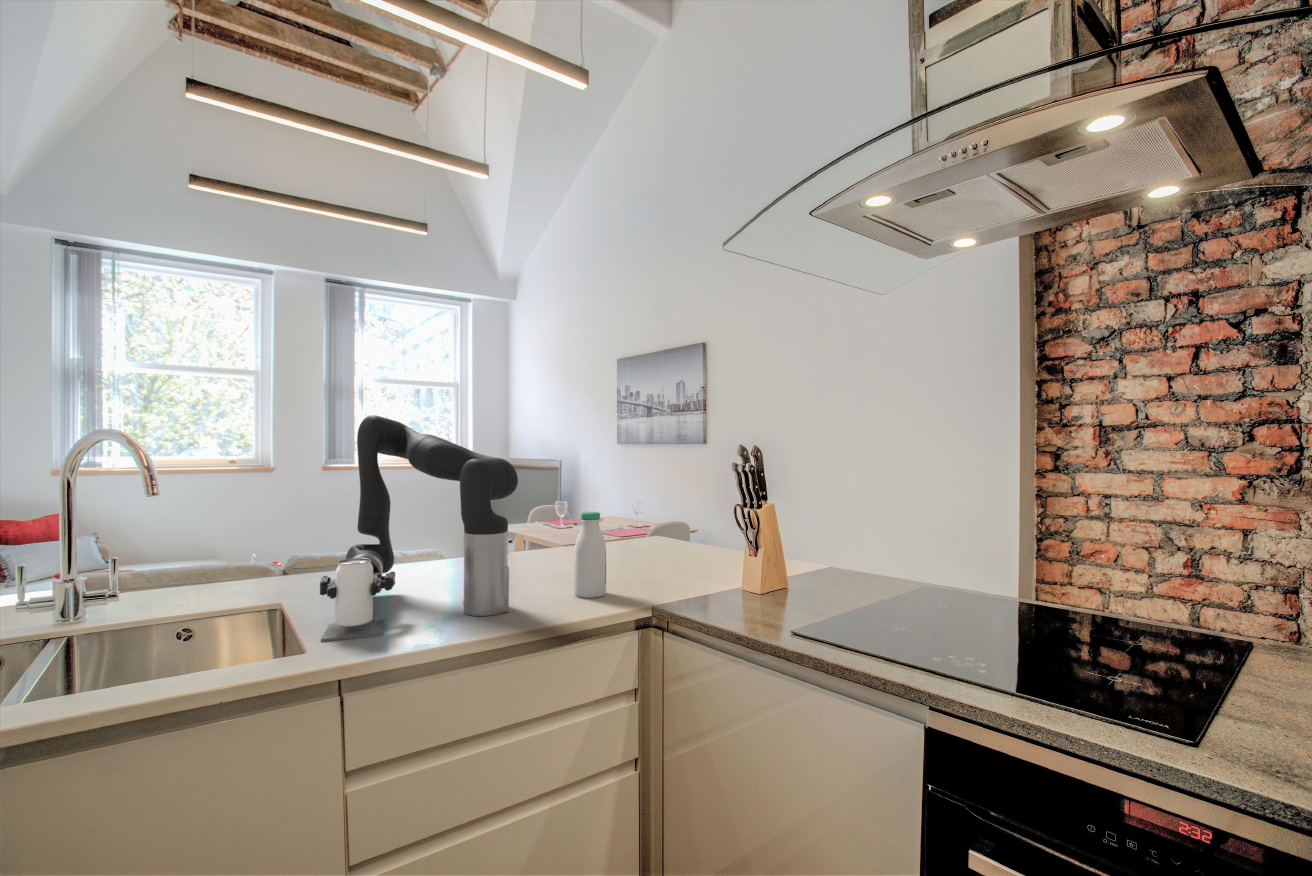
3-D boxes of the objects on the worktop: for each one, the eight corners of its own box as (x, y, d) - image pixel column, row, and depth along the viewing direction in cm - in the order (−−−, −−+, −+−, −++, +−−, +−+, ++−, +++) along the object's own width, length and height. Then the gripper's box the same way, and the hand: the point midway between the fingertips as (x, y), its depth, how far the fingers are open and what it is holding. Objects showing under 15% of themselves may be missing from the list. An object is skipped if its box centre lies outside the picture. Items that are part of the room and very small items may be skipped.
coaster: (384, 621, 121) (384, 618, 121) (380, 635, 112) (380, 633, 112) (329, 626, 118) (329, 623, 118) (320, 641, 108) (320, 639, 108)
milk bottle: (604, 598, 140) (604, 514, 140) (571, 598, 140) (572, 514, 140) (607, 591, 147) (607, 510, 148) (576, 590, 148) (577, 510, 148)
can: (357, 629, 111) (357, 565, 111) (327, 626, 112) (328, 563, 112) (379, 618, 117) (380, 558, 117) (351, 616, 119) (352, 556, 119)
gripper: (325, 557, 126) (310, 574, 110) (399, 554, 131) (394, 569, 115) (325, 593, 126) (309, 615, 110) (398, 588, 131) (394, 608, 115)
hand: (353, 591), depth 113 cm, fingers closed on can, 6 cm apart
